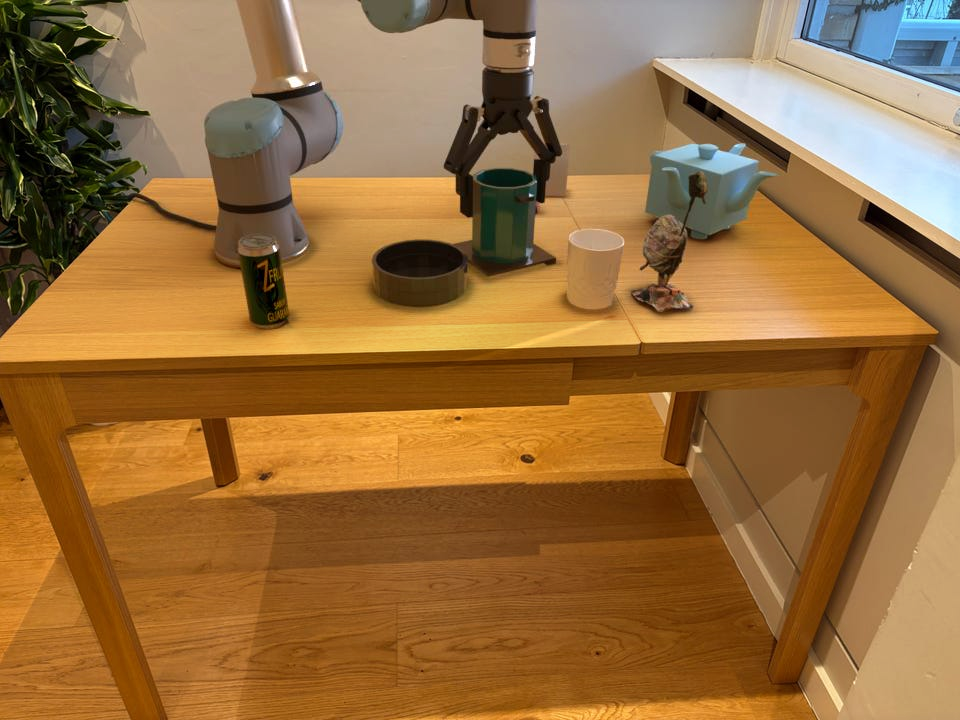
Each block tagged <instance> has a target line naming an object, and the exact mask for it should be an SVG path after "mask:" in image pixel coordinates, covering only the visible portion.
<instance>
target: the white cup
mask: <svg viewBox="0 0 960 720" xmlns="http://www.w3.org/2000/svg"><path fill="white" fill-rule="evenodd" d="M567 237H568V238H567V261H566V262H567V263H566V283H567V287H566V288H567V289H566V299H567V301H568V302H569V303H570V304H571V305H573V306H575V307H577V308H581V309H585V310H601V309H606V308H608V307H609V308H611V307H612V305H613V300H614V295H615V291H616V288H617V283H618V280H619V279H618V278H619V273H620V270H621V263H622V259H623V253H624V248H625V239H624V237H623V236H622V235H620V234H618V233H616V232H614V231H610V230H606V229H601V228H581V229H578V230H575V231H572V232H571V233H570V234H569V235H568V236H567Z"/></svg>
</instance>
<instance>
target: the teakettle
mask: <svg viewBox="0 0 960 720" xmlns="http://www.w3.org/2000/svg"><path fill="white" fill-rule="evenodd" d="M746 146H747V143H744V142H741V143H737V144H735V145H733V146H732V148H731V149H730V150H729V152H727V151H724V150H720V149H719V147H718V146H717V145H715V144H711V143H702V144H697V143H689V144H685V145H682V146H679V147H676V148H671V149H669V150H655V151H653V152H652V153H651V154H650V156H649V162H650V165H651V169H650V173H649V174H650V175H649V181H648V189H647V194H646V201H645V209H644V214H648V215H651V216H653V217H657V218H658V219H659V218H661V216H664V215H667V214H669V215H673V216H674V217H675V218H676V219H677V220H678V221H680V222H681V224H683V223H684V220H685V217H686V214H687V212H688V209H689V202H690V199H691V197H690V196H689V179H688V177H689V176H690V175H691V174H694V173H697V172H699V171H702V172H703V173H704V177H705V178H706V183H707V185H708V191H707V193H706V194H705V202H706V204H704V203H703V202H702V198H699V197H696V198H695V199H694V202H693V205H692V207H691V210H690V212H689V214H688V218H687V221H686V224H685V228H688V229H690V234H689V235H690V237H691V238H693V239H695V240H696V239H697V240H705V239H707V238H708V236H712V235H713V234H715V233H716V234H717V233H718V232H720V231H723V230H728V229H730V227H731V226H734V225H737V224H738V223H741V222H743V221H745V220H747V218H748V213H749V209H750V205H751V202H752V201H753V199H754V197H755V196H756V193H757V191H758V189H759V187H760V186H761V184H762V183H763V182H764V181H766V180H767V179H769V178H773V177H778V174H777V173H774V172H770V171H765V170H763V171H758V169H759V165H760V160H757V159H754V158H750V157H747V156H743V155H741V153H742V151H743V150H744V149H745V148H746ZM672 211H673V212H676V213H673V212H672Z"/></svg>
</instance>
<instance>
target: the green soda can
mask: <svg viewBox="0 0 960 720" xmlns="http://www.w3.org/2000/svg"><path fill="white" fill-rule="evenodd" d="M238 245H239V246H238V256H239V262H240V267H241V268H240V271H241V278H242V284H243V288H244V295H245V300H246V306H247V311H248V316H249V321H250V322H251V323H252V325H253V326H254V327H255V328H257V329H259V330H260V329H261V330H274V329H278V328H280V327H282V326H284V325H285V324H287V322H288V320H289V317H290V311H289V304H288V303H289V302H288V298H287V297H288V296H287V290H286V289H287V288H286V283H285V276H284V269H283V263H282V261H281V254H280V247H279V244H278V243H277V239H276V237H275V236H273V235H270V234H253V235H248V236H245V237H243V238H241V239H240V240H239V241H238Z"/></svg>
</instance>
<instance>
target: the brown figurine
mask: <svg viewBox="0 0 960 720" xmlns="http://www.w3.org/2000/svg"><path fill="white" fill-rule="evenodd" d="M688 179H689V196H690V197H691V199H690V202H689V209H688V212H687V214H686V217H685V220H684V223H683V224H681V222H680V221H678V220H677V219H676V218H675V217H674V216H673V215H669V214H667V215H664V216H661V218H659V217H658V220H656V221H655V223H654V224H653V225H652V226H651V227H650V229H649V230H648V232H647V234H646V236H645V238H644V241H643V242H644V243H643V246H642V254H643V257H644V258H645V260H646V261H645V263H644V264H643V265H641V266H640V267H639V271H643V270H644V269H646V268H647V267H649V268H651V269H652V270H654V271H655V272H657V273H658V274H657V284H655V283H653V284H649V285H647V287H646V288H638V289H633V290H630V294H631V295H633V296H634V297H635V299H637V300H638V301H639V302H640V301H641V302H644V303H647V305H650V306H652V307H653V308H655V310H656V312H659V313H662V312H664V311H668V310H669V309H670V310H671V309H680V310H682V309H685V308H686V309H688V310H692V309H693V308H694V305H693V304H692V303H690V301H689V300H688V297H687V295H686V294H685V293H684V292H682V291H681V289H680V288H679V287H677V286H676V285H674V284H671V283H669V282H670V280H671V279H672V276H674V274H675V273H676V271H677V270H678V269H679V268H680V265H681V264H682V262H683V256H684V252H685V250H686V246H687V242H688V230H686V227H685V224H686V221H687V218H688V214H689V212H690V210H691V207H692V205H693V202H694V199H695V198H696V197H699V198H702V202H703V203H704V204H706V202H705V194H706V193H707V191H708V185H707V183H706V178H705V177H704V173H703V172H702V171H699V172H697V173H694V174H691V175H690V176H689V177H688ZM672 212H673V211H672ZM673 213H676V212H673Z"/></svg>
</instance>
